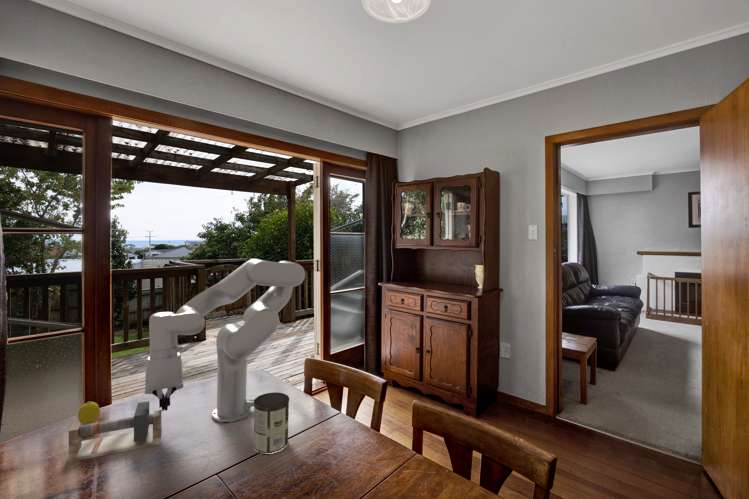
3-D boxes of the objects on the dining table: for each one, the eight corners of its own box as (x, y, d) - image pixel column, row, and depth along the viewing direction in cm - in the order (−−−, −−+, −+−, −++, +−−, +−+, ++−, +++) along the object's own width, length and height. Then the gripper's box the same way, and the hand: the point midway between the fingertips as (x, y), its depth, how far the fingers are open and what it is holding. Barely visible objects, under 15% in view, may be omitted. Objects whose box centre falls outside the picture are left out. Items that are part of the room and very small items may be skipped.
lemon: (87, 431, 115) (87, 406, 114) (73, 429, 116) (73, 404, 115) (104, 422, 120) (104, 398, 120) (90, 420, 121) (90, 396, 121)
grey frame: (149, 424, 116) (149, 401, 115) (145, 439, 108) (146, 414, 107) (137, 426, 114) (138, 402, 114) (133, 442, 106) (133, 416, 106)
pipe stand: (161, 429, 117) (162, 406, 117) (159, 444, 109) (159, 419, 109) (75, 444, 107) (75, 419, 107) (65, 462, 99) (65, 435, 99)
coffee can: (269, 432, 118) (269, 389, 117) (295, 441, 113) (296, 396, 113) (245, 449, 108) (246, 402, 108) (272, 459, 104) (273, 410, 103)
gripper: (190, 345, 122) (191, 399, 123) (137, 351, 115) (138, 408, 116) (190, 352, 115) (191, 409, 116) (134, 359, 108) (135, 419, 109)
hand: (164, 408), depth 116 cm, fingers closed
